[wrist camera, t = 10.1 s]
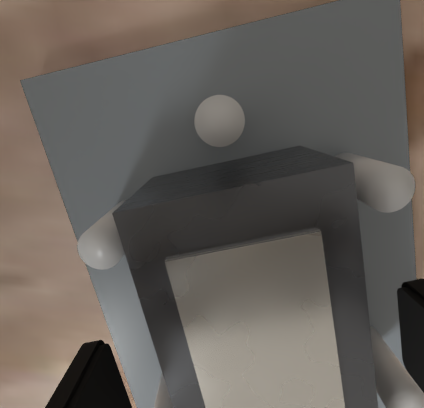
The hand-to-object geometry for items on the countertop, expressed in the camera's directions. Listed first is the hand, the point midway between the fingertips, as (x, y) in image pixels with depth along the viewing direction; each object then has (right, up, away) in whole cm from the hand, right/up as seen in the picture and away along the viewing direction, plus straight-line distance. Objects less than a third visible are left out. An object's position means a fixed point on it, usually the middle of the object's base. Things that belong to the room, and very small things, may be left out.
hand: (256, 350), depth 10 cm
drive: (0, +1, +4) cm, 4 cm away
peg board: (0, +2, +5) cm, 5 cm away
